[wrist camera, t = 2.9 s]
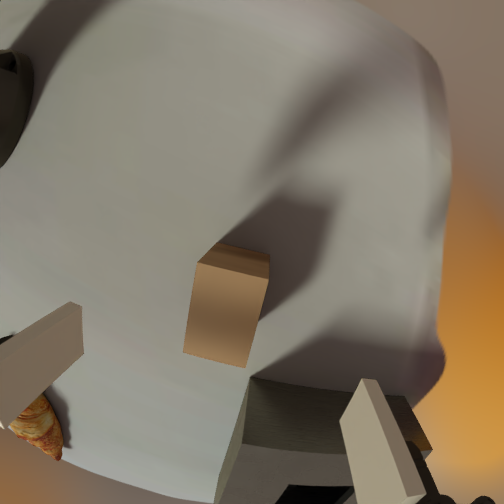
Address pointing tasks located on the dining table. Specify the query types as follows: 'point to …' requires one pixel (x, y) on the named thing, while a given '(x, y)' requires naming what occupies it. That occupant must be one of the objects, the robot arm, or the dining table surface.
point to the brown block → (226, 304)
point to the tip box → (296, 446)
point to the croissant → (40, 427)
